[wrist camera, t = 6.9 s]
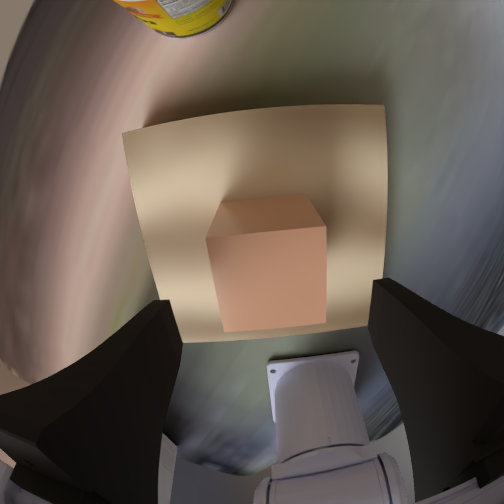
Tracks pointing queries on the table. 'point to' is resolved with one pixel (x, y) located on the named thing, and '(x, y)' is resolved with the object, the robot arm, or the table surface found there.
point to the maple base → (262, 186)
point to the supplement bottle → (179, 15)
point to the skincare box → (166, 469)
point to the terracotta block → (269, 263)
